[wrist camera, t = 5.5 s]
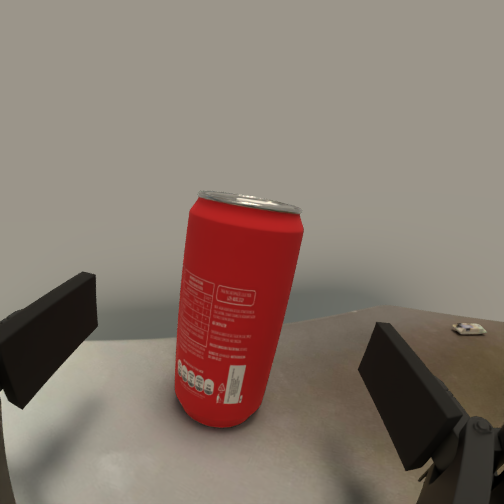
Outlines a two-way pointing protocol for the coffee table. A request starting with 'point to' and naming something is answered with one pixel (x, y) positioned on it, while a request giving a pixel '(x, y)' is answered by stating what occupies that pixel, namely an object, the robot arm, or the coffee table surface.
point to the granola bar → (469, 328)
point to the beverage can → (232, 303)
